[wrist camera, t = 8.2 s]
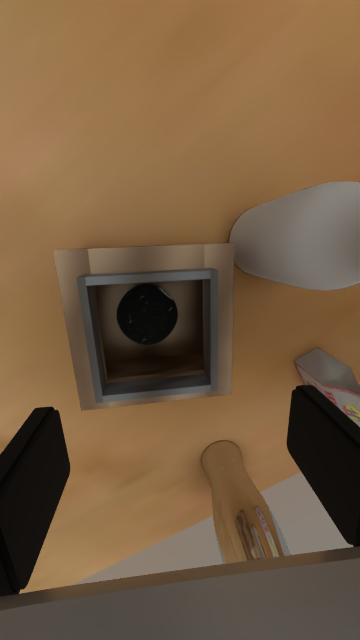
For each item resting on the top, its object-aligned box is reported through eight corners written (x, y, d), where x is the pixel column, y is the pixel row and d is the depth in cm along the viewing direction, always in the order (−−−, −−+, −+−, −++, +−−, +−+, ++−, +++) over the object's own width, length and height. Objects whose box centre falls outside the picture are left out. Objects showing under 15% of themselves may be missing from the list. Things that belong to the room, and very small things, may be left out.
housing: (208, 243, 29) (243, 242, 18) (209, 356, 33) (238, 406, 22) (82, 248, 27) (42, 250, 17) (98, 366, 31) (75, 425, 21)
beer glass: (250, 460, 39) (311, 586, 24) (211, 482, 39) (249, 620, 25) (230, 429, 36) (284, 548, 22) (189, 453, 37) (216, 586, 22)
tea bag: (316, 347, 34) (381, 386, 25) (332, 383, 36) (397, 432, 27) (293, 360, 35) (349, 404, 25) (309, 396, 37) (367, 449, 27)
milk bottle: (250, 288, 31) (418, 356, 12) (214, 235, 28) (349, 215, 9) (301, 247, 30) (567, 249, 11) (269, 190, 28) (531, 71, 9)
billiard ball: (115, 312, 29) (95, 323, 23) (149, 272, 28) (137, 272, 22) (155, 345, 29) (146, 365, 23) (189, 307, 28) (188, 317, 22)
